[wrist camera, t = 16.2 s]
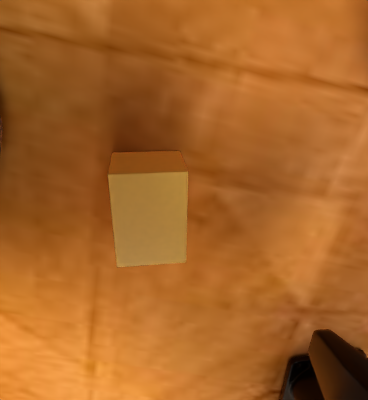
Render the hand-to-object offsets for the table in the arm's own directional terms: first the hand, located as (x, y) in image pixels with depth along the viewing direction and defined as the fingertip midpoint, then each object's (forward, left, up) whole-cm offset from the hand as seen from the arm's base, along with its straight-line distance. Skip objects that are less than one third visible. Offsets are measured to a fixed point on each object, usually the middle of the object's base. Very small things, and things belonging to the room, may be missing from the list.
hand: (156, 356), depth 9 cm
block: (0, 0, -10) cm, 10 cm away
